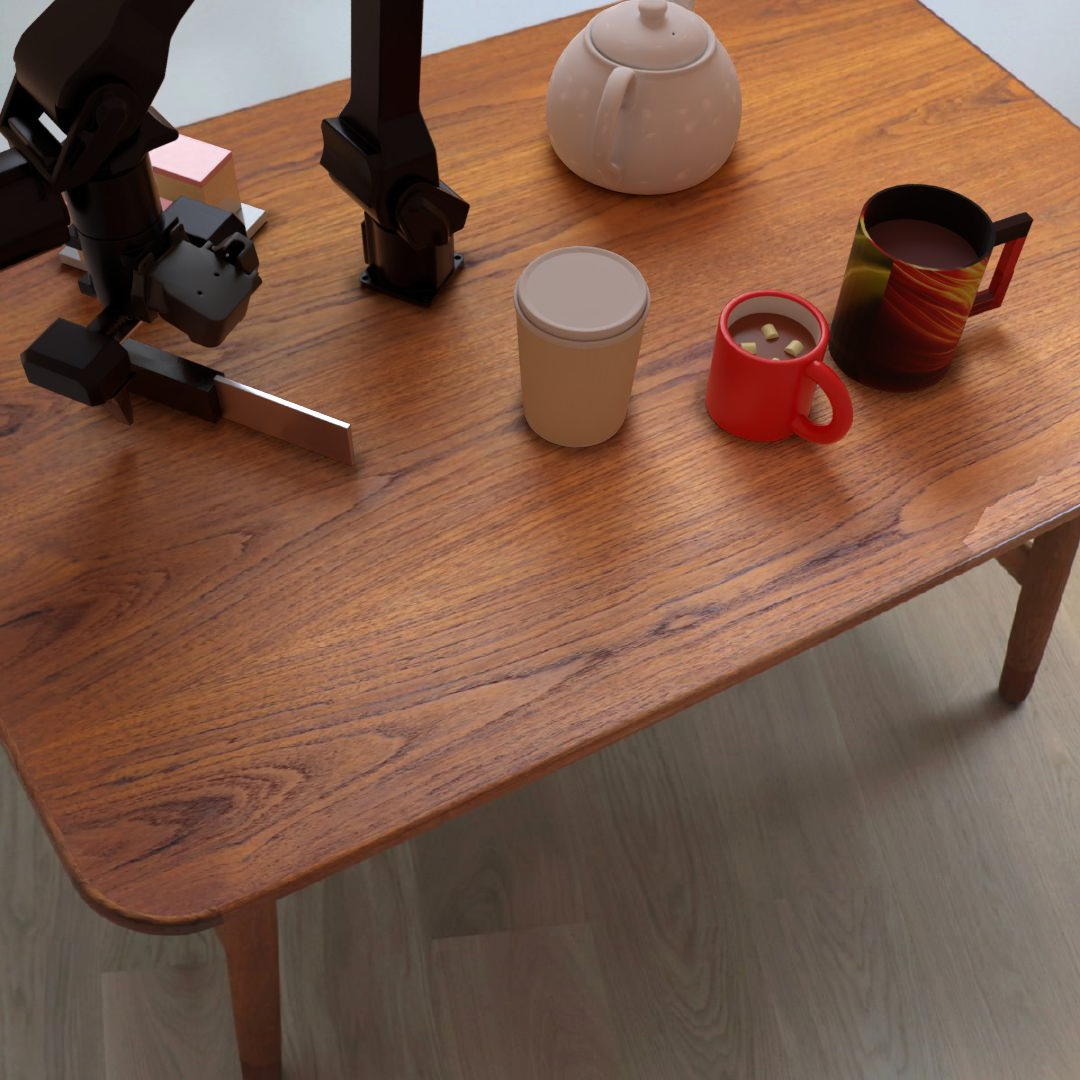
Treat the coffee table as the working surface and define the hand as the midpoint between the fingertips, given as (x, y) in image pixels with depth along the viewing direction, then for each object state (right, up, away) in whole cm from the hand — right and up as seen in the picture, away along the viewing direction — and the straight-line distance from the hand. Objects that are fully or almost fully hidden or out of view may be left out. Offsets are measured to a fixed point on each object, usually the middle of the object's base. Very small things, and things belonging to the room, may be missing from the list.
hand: (163, 381), depth 101 cm
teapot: (+37, +23, +21) cm, 48 cm away
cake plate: (-3, +13, +12) cm, 18 cm away
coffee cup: (+30, -2, +1) cm, 30 cm away
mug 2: (+57, +5, +7) cm, 57 cm away
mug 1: (+46, -3, +1) cm, 46 cm away
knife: (+5, -3, 0) cm, 6 cm away
